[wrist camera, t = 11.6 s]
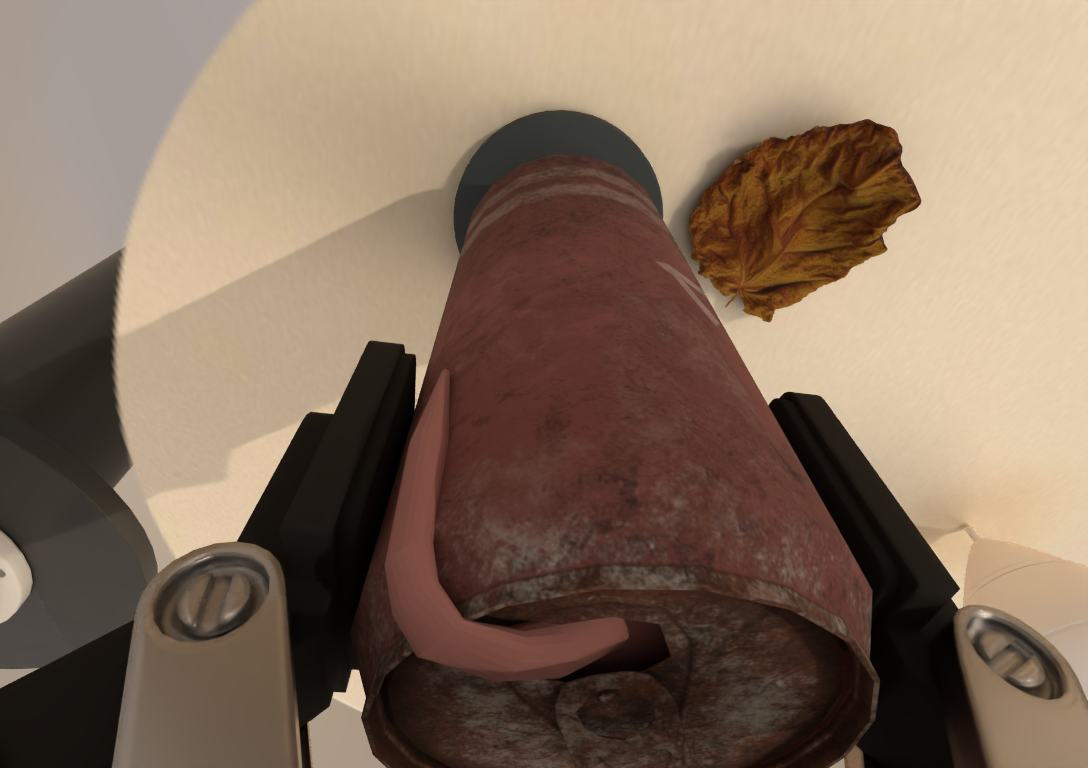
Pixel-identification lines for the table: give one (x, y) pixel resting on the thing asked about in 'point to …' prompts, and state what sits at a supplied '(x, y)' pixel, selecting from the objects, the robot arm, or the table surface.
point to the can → (602, 519)
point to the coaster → (543, 139)
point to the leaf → (800, 213)
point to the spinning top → (1033, 594)
